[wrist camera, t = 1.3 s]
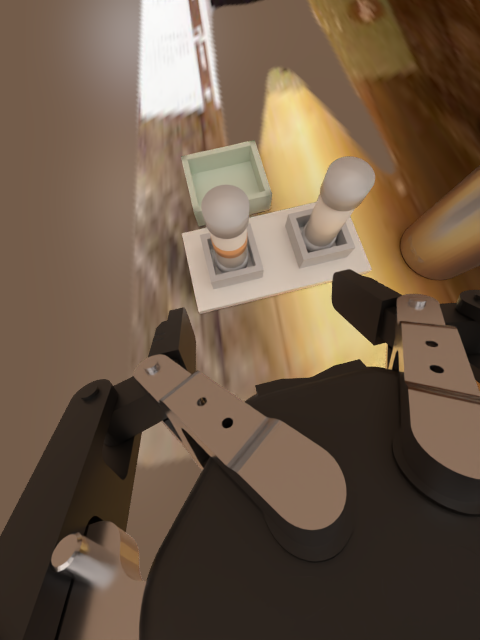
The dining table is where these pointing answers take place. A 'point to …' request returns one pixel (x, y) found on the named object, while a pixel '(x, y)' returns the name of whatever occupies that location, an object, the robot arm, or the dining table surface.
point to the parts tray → (227, 175)
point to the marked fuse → (227, 225)
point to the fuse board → (270, 260)
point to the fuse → (337, 201)
